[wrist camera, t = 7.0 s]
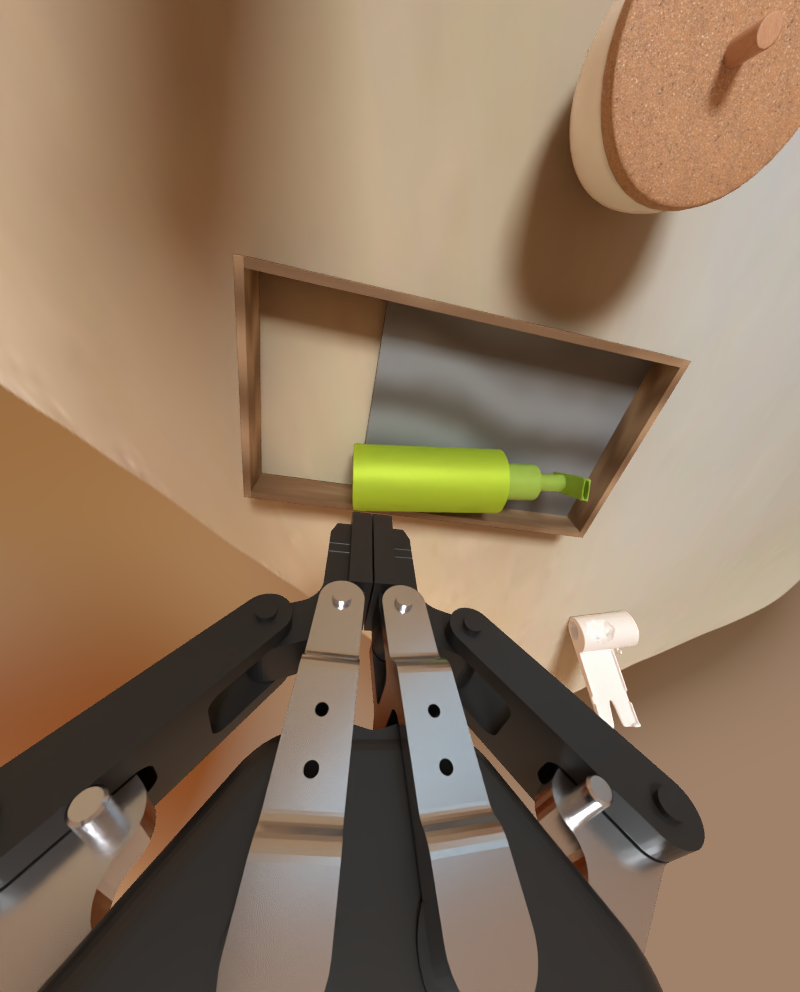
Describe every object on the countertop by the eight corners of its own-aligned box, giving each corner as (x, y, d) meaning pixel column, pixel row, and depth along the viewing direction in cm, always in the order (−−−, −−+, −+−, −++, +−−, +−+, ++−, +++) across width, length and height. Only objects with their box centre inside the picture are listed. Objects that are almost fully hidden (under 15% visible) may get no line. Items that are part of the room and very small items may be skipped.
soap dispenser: (352, 445, 26) (600, 455, 28) (355, 442, 32) (554, 450, 34) (351, 521, 27) (590, 525, 29) (354, 502, 33) (547, 506, 36)
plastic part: (622, 605, 49) (687, 686, 39) (605, 647, 54) (658, 728, 44) (571, 611, 49) (622, 694, 39) (559, 652, 54) (602, 735, 44)
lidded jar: (719, -69, 18) (992, -339, 10) (707, 180, 24) (877, 130, 16) (524, 50, 20) (627, -102, 12) (555, 256, 25) (640, 246, 17)
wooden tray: (249, 257, 24) (232, 253, 21) (659, 353, 30) (691, 361, 27) (255, 477, 33) (244, 496, 30) (566, 518, 39) (582, 537, 36)
